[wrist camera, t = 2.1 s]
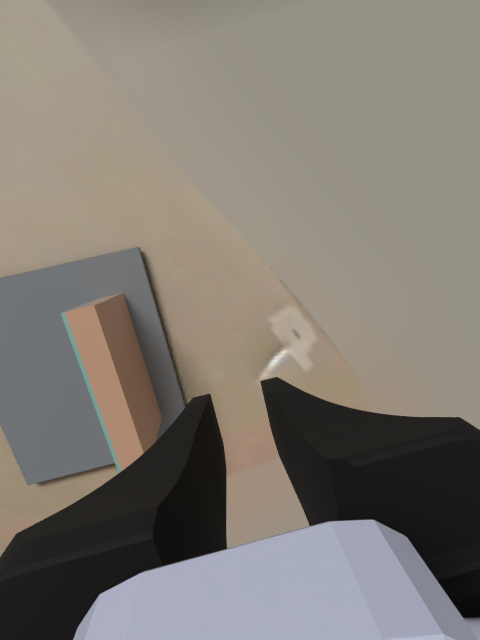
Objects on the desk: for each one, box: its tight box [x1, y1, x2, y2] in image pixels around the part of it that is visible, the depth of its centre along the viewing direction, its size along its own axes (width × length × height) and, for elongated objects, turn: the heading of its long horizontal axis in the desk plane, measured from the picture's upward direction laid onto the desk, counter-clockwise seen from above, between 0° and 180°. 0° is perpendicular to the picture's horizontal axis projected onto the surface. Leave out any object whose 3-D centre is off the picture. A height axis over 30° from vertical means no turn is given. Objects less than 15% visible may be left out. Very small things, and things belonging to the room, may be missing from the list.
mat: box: [0, 247, 186, 485], centre depth 20 cm, size 12×14×1 cm
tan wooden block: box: [61, 293, 162, 473], centre depth 18 cm, size 2×9×5 cm, turn 13°
